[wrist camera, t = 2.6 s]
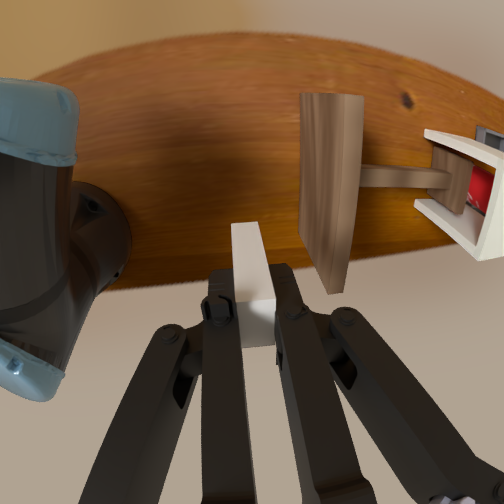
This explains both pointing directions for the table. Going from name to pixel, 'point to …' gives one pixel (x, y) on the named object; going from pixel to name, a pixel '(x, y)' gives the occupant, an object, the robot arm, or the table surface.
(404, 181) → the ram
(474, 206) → the pit
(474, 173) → the beverage can
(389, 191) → the table surface
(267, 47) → the table surface
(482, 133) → the pit
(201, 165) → the table surface
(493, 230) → the tunnel
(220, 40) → the table surface
